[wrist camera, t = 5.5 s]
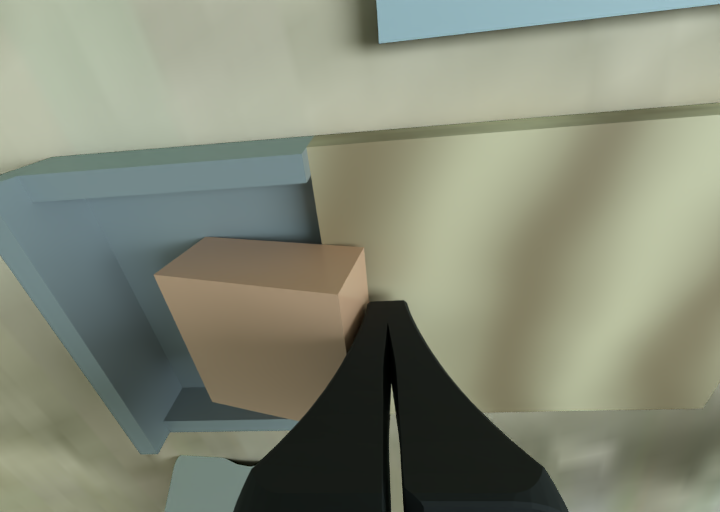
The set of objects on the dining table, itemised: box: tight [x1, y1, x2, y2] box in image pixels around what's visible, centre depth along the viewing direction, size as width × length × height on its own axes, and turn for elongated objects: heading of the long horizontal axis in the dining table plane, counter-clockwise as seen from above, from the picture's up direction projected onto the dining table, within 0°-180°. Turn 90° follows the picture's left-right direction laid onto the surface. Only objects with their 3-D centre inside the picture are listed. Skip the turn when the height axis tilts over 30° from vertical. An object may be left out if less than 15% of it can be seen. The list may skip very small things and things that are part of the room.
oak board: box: [306, 103, 720, 414], centre depth 13 cm, size 15×12×2 cm
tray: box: [0, 136, 322, 454], centre depth 13 cm, size 9×12×3 cm
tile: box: [154, 237, 369, 421], centre depth 12 cm, size 6×6×2 cm
